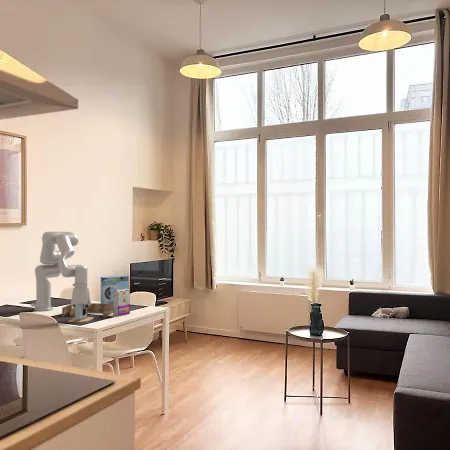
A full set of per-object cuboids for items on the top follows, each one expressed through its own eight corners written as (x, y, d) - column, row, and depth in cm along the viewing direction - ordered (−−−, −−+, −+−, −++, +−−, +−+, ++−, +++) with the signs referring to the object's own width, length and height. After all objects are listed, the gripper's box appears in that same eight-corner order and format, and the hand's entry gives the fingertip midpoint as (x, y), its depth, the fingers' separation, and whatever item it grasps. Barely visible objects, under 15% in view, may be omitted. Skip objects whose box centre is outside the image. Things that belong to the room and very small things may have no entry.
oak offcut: (69, 316, 304) (69, 311, 304) (74, 313, 313) (74, 309, 313) (80, 316, 304) (80, 312, 304) (85, 314, 312) (85, 309, 313)
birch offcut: (71, 311, 304) (71, 307, 304) (73, 309, 312) (73, 305, 312) (81, 311, 305) (81, 307, 305) (82, 309, 313) (82, 305, 313)
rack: (62, 316, 300) (62, 307, 300) (73, 311, 318) (73, 303, 318) (104, 317, 298) (104, 308, 298) (113, 312, 316) (113, 303, 316)
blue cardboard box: (126, 306, 341) (126, 275, 341) (128, 307, 336) (129, 275, 336) (100, 308, 330) (100, 276, 330) (102, 309, 326) (102, 277, 326)
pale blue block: (75, 319, 285) (75, 304, 285) (81, 316, 295) (81, 302, 295) (80, 319, 285) (80, 304, 285) (86, 316, 295) (86, 302, 295)
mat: (67, 322, 284) (67, 321, 284) (75, 317, 297) (75, 317, 297) (86, 322, 283) (86, 321, 283) (93, 318, 296) (93, 317, 296)
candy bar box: (124, 312, 314) (124, 288, 315) (130, 313, 312) (130, 289, 312) (112, 315, 305) (112, 290, 305) (118, 316, 302) (118, 291, 302)
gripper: (65, 286, 287) (65, 316, 287) (91, 286, 286) (91, 316, 285) (70, 284, 294) (70, 313, 294) (96, 285, 293) (95, 314, 293)
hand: (80, 314), depth 290 cm, fingers closed on pale blue block, 3 cm apart
